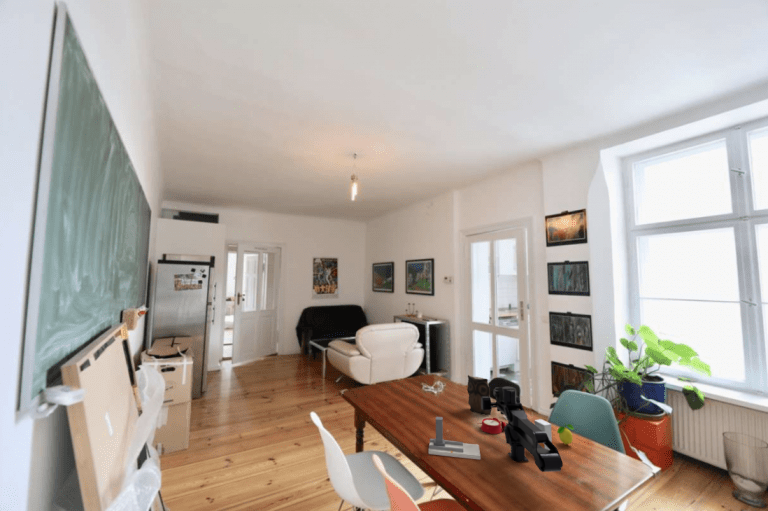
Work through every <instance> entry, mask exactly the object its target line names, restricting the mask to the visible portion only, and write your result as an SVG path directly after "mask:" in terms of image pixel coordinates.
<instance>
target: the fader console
mask: <svg viewBox="0 0 768 511" xmlns="http://www.w3.org/2000/svg"><path fill="white" fill-rule="evenodd" d="M434 439H435V438H429V445H428V455H435V456H436V455H437V456H443V457H454V458H461V459H462V458H463V459H470V460H471V459H472V460H479V461H480V460H481V452H480V445H479V444H476V443H475V444H474V443H464V441H455V440H446V439H444V440H445V446H435V445H434Z"/></svg>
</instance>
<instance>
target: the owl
mask: <svg viewBox="0 0 768 511" xmlns="http://www.w3.org/2000/svg"><path fill="white" fill-rule="evenodd" d="M467 378H468V379H467V388H466V389H467V390H466V391H467V393H468V401H467V402H468V403H467V404H468V405H469V407H470V408H469V409H470V410H469V411H470V412H472V413H475V414H480V415H483V416H491V415H492V409H493V408H491V411H483V410H482V409H481V397H484V396H489V397H490V399H491V400H492V398H491V388H490V386H489V379H487V378H484V377H479V376H473V375H469V374H468V375H467Z"/></svg>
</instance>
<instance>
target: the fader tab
mask: <svg viewBox="0 0 768 511" xmlns="http://www.w3.org/2000/svg"><path fill="white" fill-rule="evenodd" d="M443 419H444V418H443V416H435V438H433V439H434V445H435V446H445V440H446V439H444V433H443V432H444V429H443V428H444V426H443V425H444V424H443V423H444V422H443V421H444V420H443Z"/></svg>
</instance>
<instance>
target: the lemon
mask: <svg viewBox="0 0 768 511" xmlns="http://www.w3.org/2000/svg"><path fill="white" fill-rule="evenodd" d="M566 423H567V422H565V423H564V425H563V426H559V427H558V429H557V434H558V437H559V440H560V441H561V442H562V443H563V444H564V445H566V446H567V445H569V444H571V443H573V439H574V438H573V434H572V431H573V430H574V429H575V428H574V426H573V425H572V424H570V423H568V424H566ZM566 426H567V427H566ZM571 430H572V431H571Z"/></svg>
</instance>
